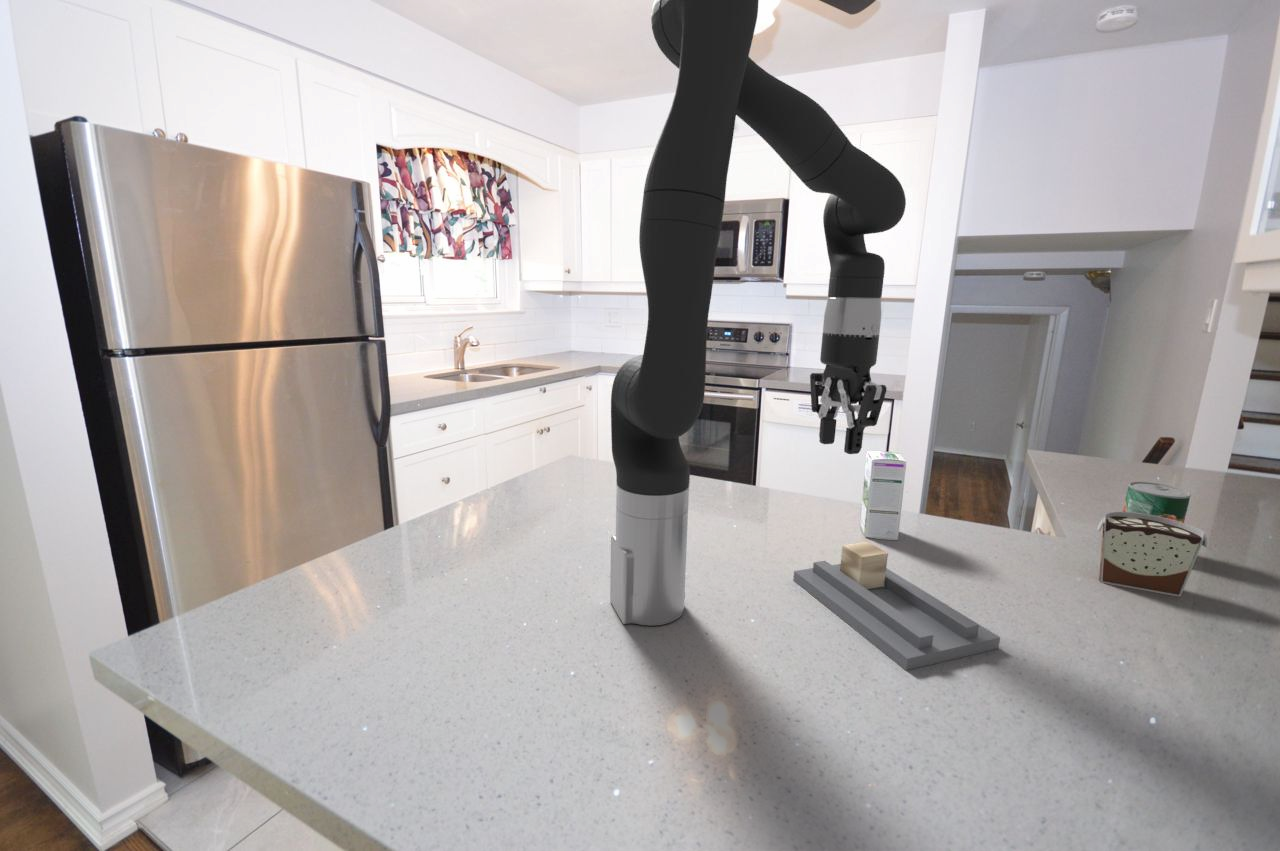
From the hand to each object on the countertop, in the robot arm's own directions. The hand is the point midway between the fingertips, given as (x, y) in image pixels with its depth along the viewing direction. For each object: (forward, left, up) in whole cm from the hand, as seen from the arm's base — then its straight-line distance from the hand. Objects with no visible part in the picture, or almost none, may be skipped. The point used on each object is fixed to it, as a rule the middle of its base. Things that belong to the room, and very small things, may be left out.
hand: (839, 447), depth 84 cm
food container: (+43, -16, -20) cm, 50 cm away
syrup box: (+18, +10, -20) cm, 28 cm away
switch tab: (0, -7, -18) cm, 19 cm away
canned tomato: (+58, -9, -20) cm, 62 cm away
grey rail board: (0, -12, -19) cm, 23 cm away
